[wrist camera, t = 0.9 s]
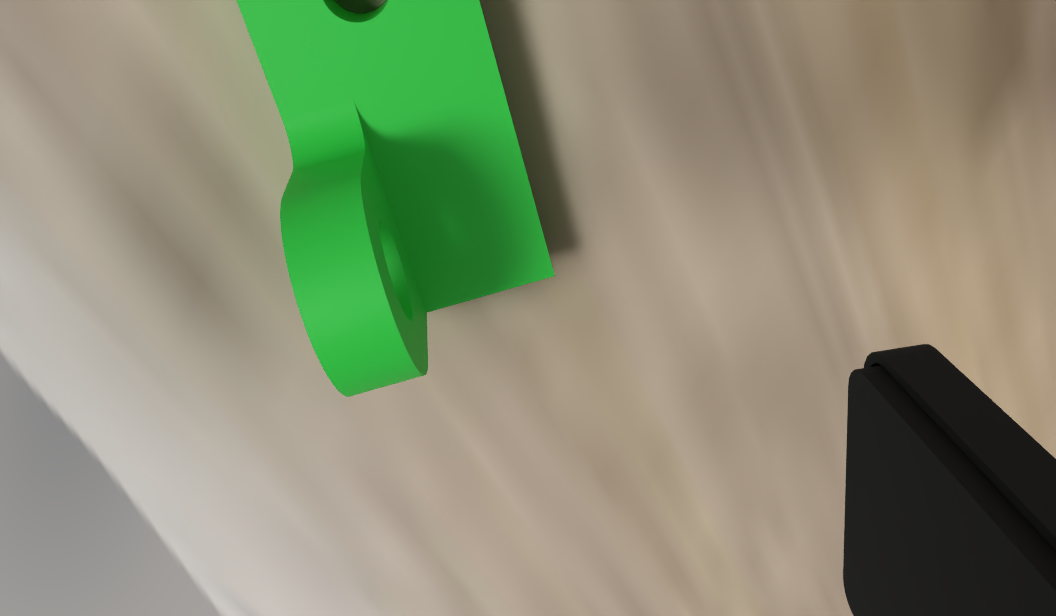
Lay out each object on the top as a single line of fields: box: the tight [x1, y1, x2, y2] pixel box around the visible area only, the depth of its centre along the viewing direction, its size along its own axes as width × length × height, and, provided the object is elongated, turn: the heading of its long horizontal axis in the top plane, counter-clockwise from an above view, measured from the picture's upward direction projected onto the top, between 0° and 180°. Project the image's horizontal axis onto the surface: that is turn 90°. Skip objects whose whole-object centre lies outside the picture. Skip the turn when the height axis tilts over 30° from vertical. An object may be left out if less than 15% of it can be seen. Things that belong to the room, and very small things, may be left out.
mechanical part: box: [237, 0, 555, 397], centre depth 24 cm, size 12×6×8 cm, turn 15°
